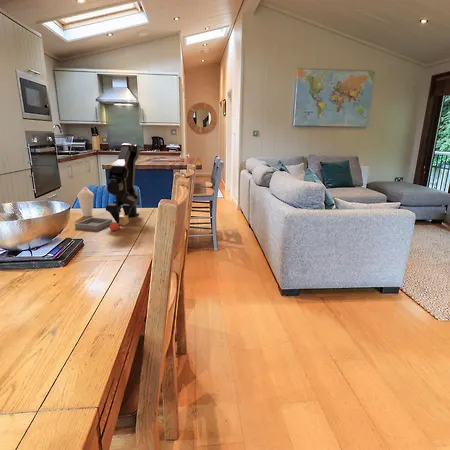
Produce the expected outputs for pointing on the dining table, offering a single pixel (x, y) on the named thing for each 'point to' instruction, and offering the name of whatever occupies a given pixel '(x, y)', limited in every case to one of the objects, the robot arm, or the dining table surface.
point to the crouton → (123, 219)
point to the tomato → (114, 226)
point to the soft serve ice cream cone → (86, 201)
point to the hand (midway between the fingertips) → (122, 221)
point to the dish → (93, 224)
